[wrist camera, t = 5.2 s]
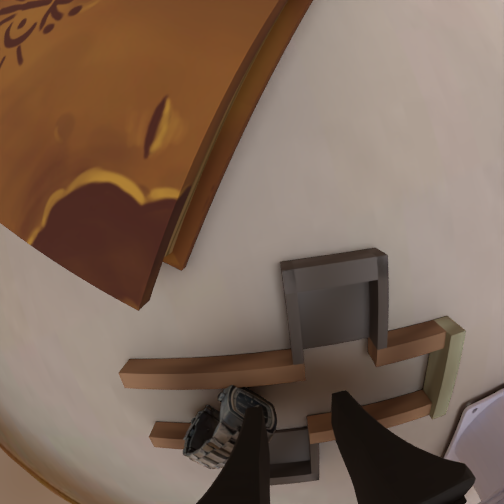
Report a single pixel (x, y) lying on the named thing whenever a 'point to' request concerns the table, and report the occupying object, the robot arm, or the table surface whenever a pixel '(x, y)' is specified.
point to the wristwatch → (224, 426)
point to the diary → (127, 124)
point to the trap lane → (315, 335)
